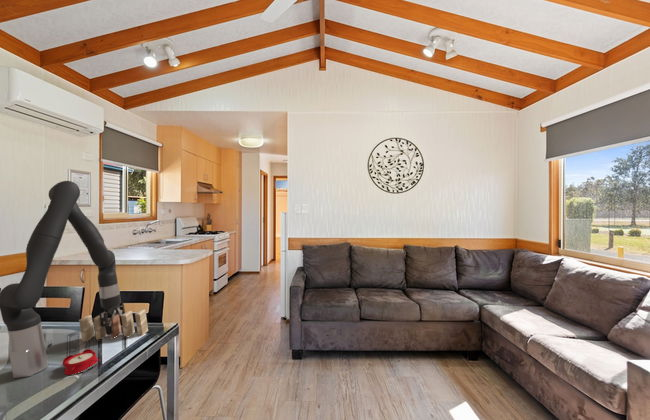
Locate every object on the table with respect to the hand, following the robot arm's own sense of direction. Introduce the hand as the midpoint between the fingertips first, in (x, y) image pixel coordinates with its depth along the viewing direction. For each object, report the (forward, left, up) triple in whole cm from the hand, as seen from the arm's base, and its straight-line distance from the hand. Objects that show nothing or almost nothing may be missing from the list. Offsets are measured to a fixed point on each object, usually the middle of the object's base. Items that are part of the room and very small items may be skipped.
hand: (115, 329), depth 148 cm
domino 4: (0, -12, -3) cm, 12 cm away
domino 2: (0, +6, -3) cm, 7 cm away
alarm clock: (-25, -1, -3) cm, 25 cm away
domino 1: (0, +12, -3) cm, 12 cm away
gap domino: (0, 0, -3) cm, 3 cm away
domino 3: (0, -6, -3) cm, 7 cm away
